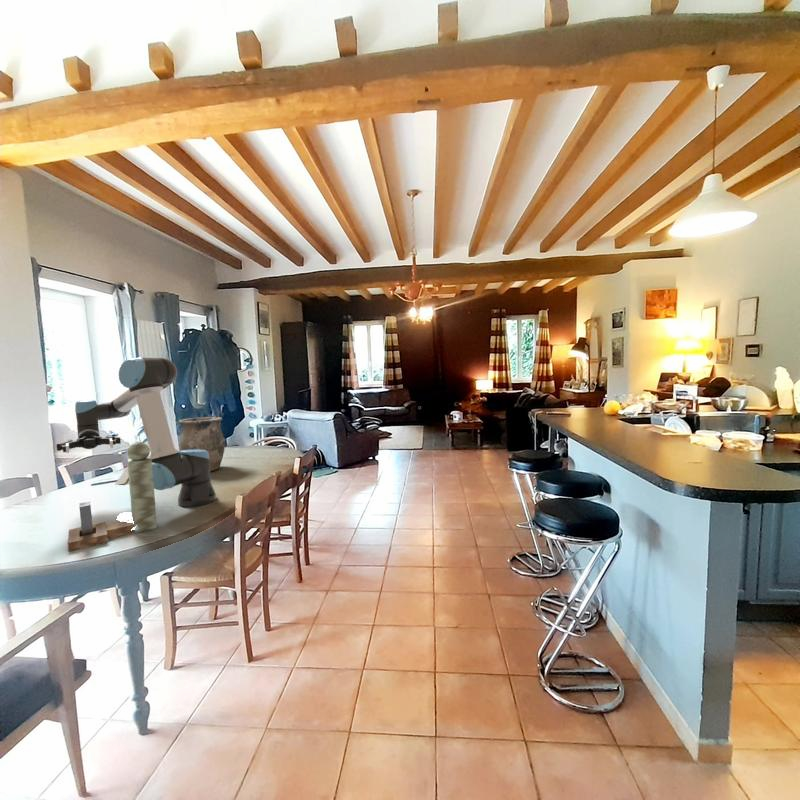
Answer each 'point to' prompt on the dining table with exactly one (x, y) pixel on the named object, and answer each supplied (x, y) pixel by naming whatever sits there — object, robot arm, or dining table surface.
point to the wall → (123, 478)
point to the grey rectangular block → (86, 518)
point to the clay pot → (203, 438)
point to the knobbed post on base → (140, 503)
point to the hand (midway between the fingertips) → (90, 446)
